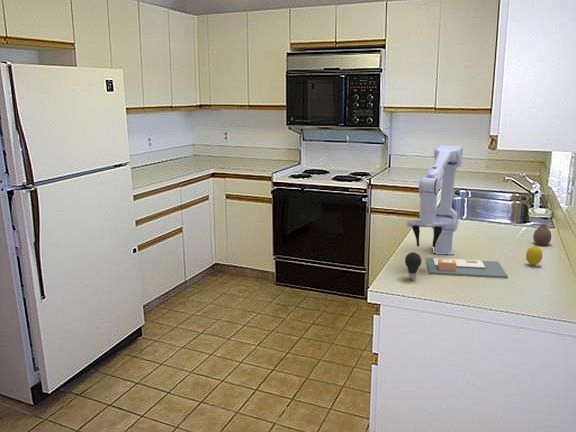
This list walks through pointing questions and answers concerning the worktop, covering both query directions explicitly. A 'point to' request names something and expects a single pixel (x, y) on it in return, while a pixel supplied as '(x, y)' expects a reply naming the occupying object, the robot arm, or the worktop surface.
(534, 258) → the lemon
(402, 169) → the worktop surface
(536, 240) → the brown pointed fruit
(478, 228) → the worktop surface
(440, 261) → the stub
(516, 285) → the worktop surface
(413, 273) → the light bulb
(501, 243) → the worktop surface
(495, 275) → the mat
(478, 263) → the ticket
